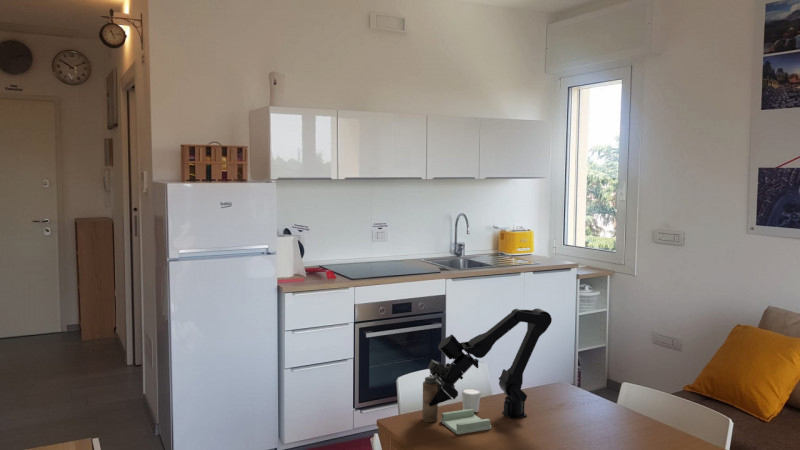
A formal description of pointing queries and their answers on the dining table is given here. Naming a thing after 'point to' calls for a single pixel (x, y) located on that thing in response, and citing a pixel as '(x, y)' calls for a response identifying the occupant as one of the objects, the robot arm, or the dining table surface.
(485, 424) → the tray
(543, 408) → the dining table surface
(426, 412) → the pepper mill
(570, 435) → the dining table surface
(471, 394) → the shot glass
